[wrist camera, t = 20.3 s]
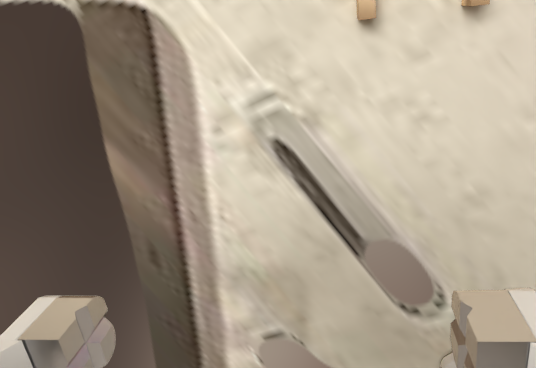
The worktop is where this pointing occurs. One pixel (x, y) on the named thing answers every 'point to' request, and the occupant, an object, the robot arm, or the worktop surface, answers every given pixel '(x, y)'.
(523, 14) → the worktop surface
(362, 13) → the oak shelf rails
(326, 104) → the worktop surface
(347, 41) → the worktop surface
